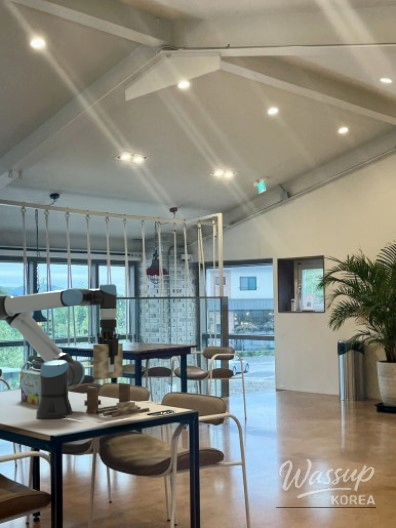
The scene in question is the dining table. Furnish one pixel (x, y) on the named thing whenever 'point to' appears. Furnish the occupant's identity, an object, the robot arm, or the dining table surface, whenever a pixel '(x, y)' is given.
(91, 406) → the rack
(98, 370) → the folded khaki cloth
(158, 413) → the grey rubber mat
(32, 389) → the snack box
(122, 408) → the offcut stack
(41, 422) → the dining table surface
